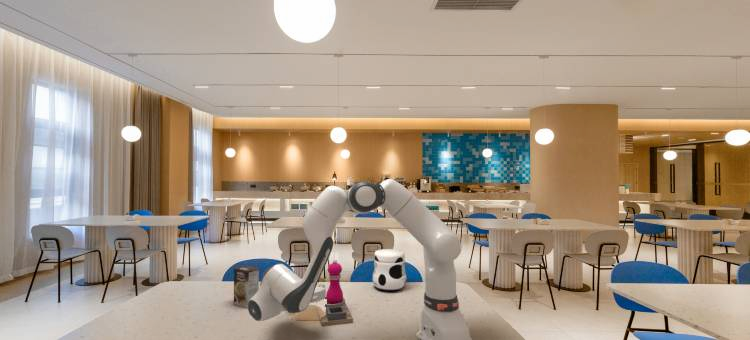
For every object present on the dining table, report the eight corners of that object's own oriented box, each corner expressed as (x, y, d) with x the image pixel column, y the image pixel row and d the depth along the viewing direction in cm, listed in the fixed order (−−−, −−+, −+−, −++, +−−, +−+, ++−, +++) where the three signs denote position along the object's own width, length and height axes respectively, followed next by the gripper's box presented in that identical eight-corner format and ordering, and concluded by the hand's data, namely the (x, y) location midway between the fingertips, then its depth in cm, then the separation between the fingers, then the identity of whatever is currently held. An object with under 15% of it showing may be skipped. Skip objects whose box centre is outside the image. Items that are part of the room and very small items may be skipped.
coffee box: (232, 305, 147) (233, 268, 147) (244, 300, 153) (245, 264, 153) (247, 308, 143) (247, 271, 143) (259, 303, 148) (259, 267, 149)
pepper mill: (340, 310, 138) (341, 262, 138) (323, 309, 139) (324, 261, 139) (344, 303, 145) (345, 257, 145) (328, 302, 146) (328, 257, 146)
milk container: (368, 283, 176) (368, 249, 176) (399, 280, 181) (399, 247, 181) (378, 295, 159) (378, 257, 160) (411, 291, 164) (412, 255, 165)
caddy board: (352, 322, 130) (352, 312, 130) (321, 326, 127) (322, 315, 127) (343, 303, 149) (343, 294, 149) (316, 306, 146) (316, 296, 146)
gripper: (311, 291, 115) (335, 280, 127) (269, 282, 125) (294, 272, 137) (311, 310, 115) (335, 297, 127) (268, 298, 125) (294, 288, 137)
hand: (313, 284), depth 132 cm, fingers open, 8 cm apart
